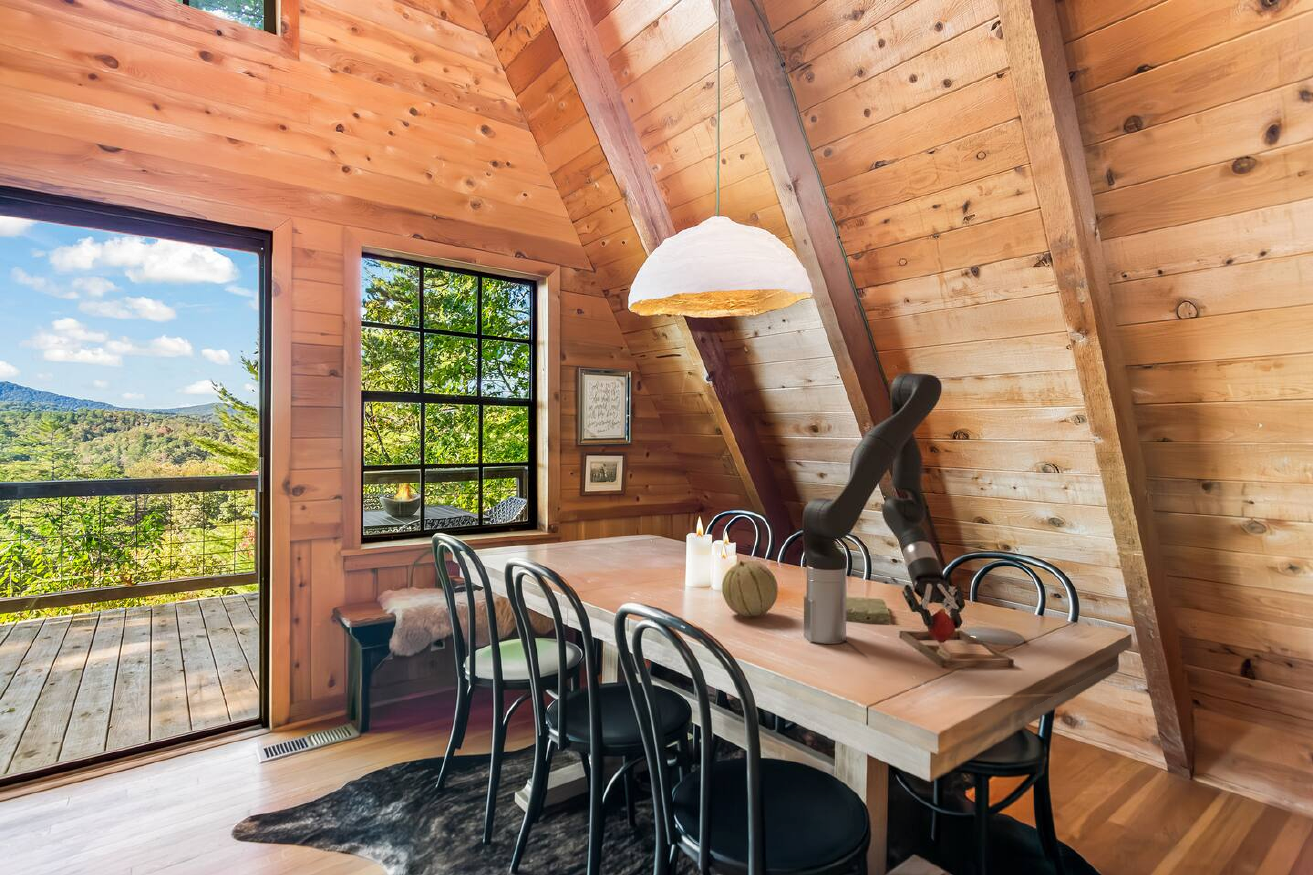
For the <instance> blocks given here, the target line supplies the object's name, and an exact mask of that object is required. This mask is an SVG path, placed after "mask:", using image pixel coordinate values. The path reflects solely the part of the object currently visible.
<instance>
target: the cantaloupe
mask: <svg viewBox="0 0 1313 875" xmlns="http://www.w3.org/2000/svg"><path fill="white" fill-rule="evenodd" d="M721 586H722V587H721V588H722V589H721V591H722V596H723V599H724V601H725V603H726V604H727V606H728V607H729V609H730V610H731V611H732V612H734V613H735V614H737V615H739V616H742V617H750V618H751V617H753V618H754V617H758V616H763V615H764V614H766V613H768V612H769V611H770V610H771V609H772V607H773V606H774V604H775V603H776V601H777V598H778V595H779V594H778V592H779V591H778V590H779V588H778V582H777V580H776V576H775V575H774V574H773V572H772V571H771V570H770V569H769V568H768V567H767V566H765V565H764V564H762V563H761V562H758V561H754V560H748V561H743V560H740V561H739V562H738V563H737V564H735V565H733V566H732V567H730V568H729V570H727V572H726V573H725V575H724V576H723V579H722V584H721Z"/></svg>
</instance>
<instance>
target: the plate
mask: <svg viewBox="0 0 1313 875" xmlns="http://www.w3.org/2000/svg"><path fill="white" fill-rule="evenodd" d="M963 632H964V633H966V634H968V635H970V636H972V637H973V638H975V639H977V640H979V641H981V642H982V643H984V644H991V645H999V646H1000V645H1001V646H1013V645H1020V644H1024V642H1025V641H1024V636H1023V635H1021V634H1020V633H1017V632H1015V631H1012V630H1009V629H1008V630H1007V629H1002V628H998V627H990V626H989V627H986V626H974V627H967V628H964V630H963Z"/></svg>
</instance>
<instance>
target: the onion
mask: <svg viewBox="0 0 1313 875" xmlns="http://www.w3.org/2000/svg"><path fill="white" fill-rule="evenodd" d="M931 616H932V619H933V622H934V625H933V627H932V628H927V631H929V633H930V635H931V636H932V637H933V638H934V639H933V640H935V641H937V643H946V641H948V640H950V638H951V637H952V636H953V635H954V632H955V631H956V629H955V625H954V622H953V620H952V619H951V616H950V615H948V613H946V608H944V607H942V608H939V610H938V611H937V612H935V613H934V614H932V615H931Z"/></svg>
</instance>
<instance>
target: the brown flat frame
mask: <svg viewBox="0 0 1313 875" xmlns="http://www.w3.org/2000/svg"><path fill="white" fill-rule="evenodd" d="M899 639H901V640H902V641H904V642H905V643H906V644H907V645H909V646H910V647H912V648H914V649H915V650H916V651H918V652H919V653H921V654H922V655H923V656H925V657H926V658H928V659H929V660H931V661H932V662H933V663H935V664H936V665H938V666H939V667H940V668H942V669H993V668H994V669H1000V668H1001V669H1003V668H1004V669H1006V668H1009V669H1011V668H1012V669H1013V668H1014V659H1012V658H1011V657H1010V656H1007V655H1005V654H1004V653H1002V652H1000V651H999V650H996V649H995V648H993V647H991V646H989V645H988V644H987V643H984V642H981V641H979V640H977V639H975V638H973V637H972V636H970V635H968V634H966V633H964V630H955V632H954V635H953V636H952V637H951V638H950V639H955V640H956V639H959V640H961V641H962V642H964V643H965V644H975V645H982V646H984V647H985V648H986V649H987V650H989V651H990V652H991V653H992V654H994V659H945V658H943V657H942V656H940V655H939V654H937V649H940V648H939V644H923V642H921V641H919V640H924V639H925V640H932V639H933V640H935V639H934V638H933V637H932V636H931V635H930V633H929V631H928V630H900V631H899ZM950 639H949V640H950Z"/></svg>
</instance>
